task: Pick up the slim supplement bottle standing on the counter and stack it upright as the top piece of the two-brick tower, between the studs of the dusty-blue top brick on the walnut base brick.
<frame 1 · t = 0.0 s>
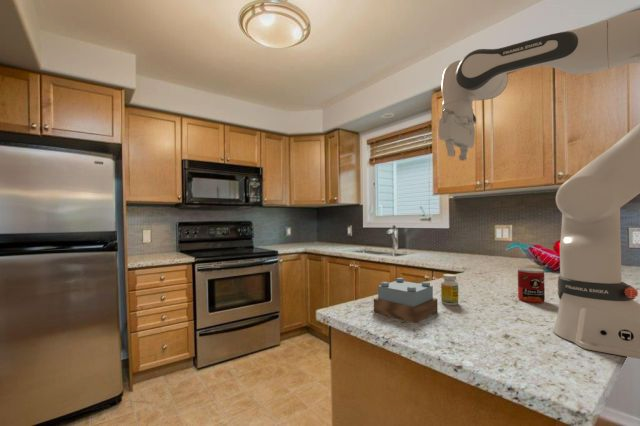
hand: (457, 158, 95), 48 cm above the countertop, tool pointing down, fingers open, 8 cm apart
top brick: (405, 298, 93), resting on base brick
supplement bottle: (449, 303, 102), on the countertop
canned food: (531, 301, 105), on the countertop
base brick: (405, 311, 93), on the countertop
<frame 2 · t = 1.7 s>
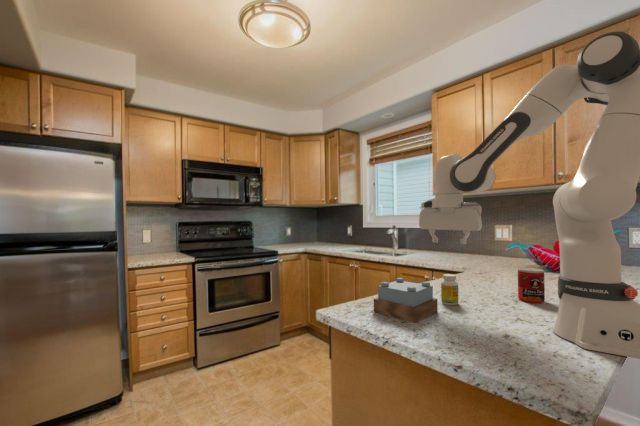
hand: (448, 243, 103), 20 cm above the countertop, tool pointing down, fingers open, 8 cm apart
nothing on the countertop moved.
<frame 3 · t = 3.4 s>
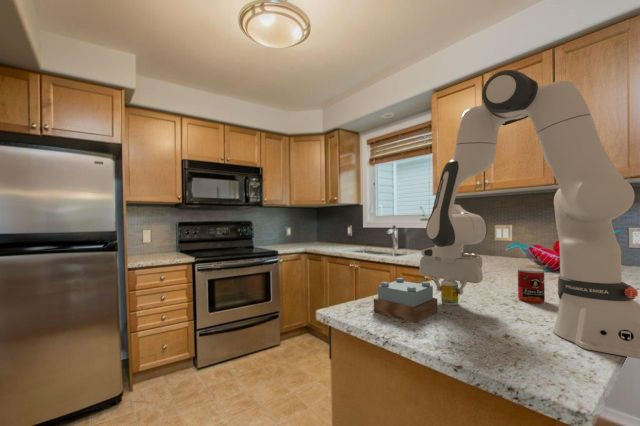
hand: (449, 292, 102), 4 cm above the countertop, tool pointing down, fingers closed on supplement bottle, 5 cm apart
supplement bottle: (449, 303, 102), on the countertop, touching gripper
everything else where it was.
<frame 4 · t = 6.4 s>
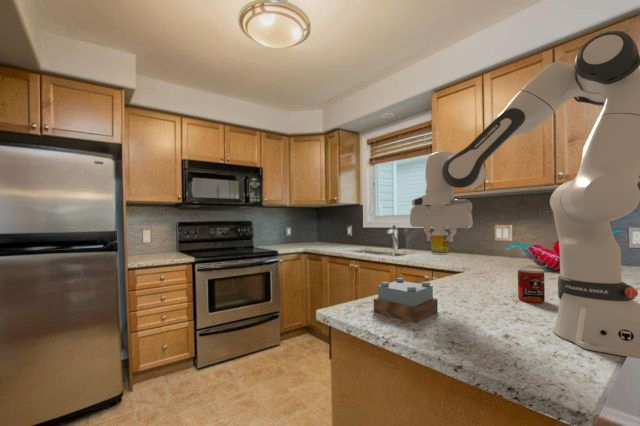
hand: (439, 241, 101), 21 cm above the countertop, tool pointing down, fingers closed on supplement bottle, 5 cm apart
supplement bottle: (439, 254, 100), point 17 cm above the countertop, touching gripper
everything else where it was.
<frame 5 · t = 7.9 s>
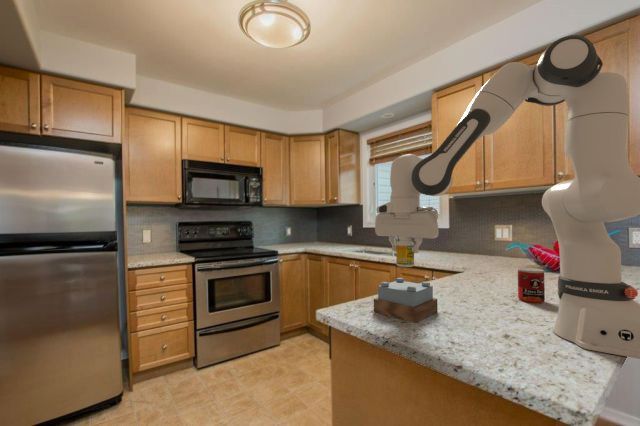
hand: (405, 251, 93), 19 cm above the countertop, tool pointing down, fingers closed on supplement bottle, 5 cm apart
supplement bottle: (405, 266, 93), point 14 cm above the countertop, touching gripper
everything else where it was.
when the fingers open (14 cm above the countertop, at t = 9.2 s): supplement bottle drops 1 cm, resting on top brick.
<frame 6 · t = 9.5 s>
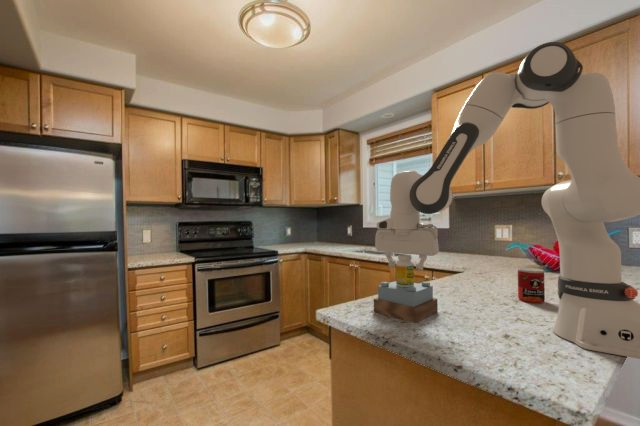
hand: (405, 267, 93), 14 cm above the countertop, tool pointing down, fingers open, 8 cm apart
supplement bottle: (405, 286, 93), point 8 cm above the countertop, touching top brick
everything else where it was.
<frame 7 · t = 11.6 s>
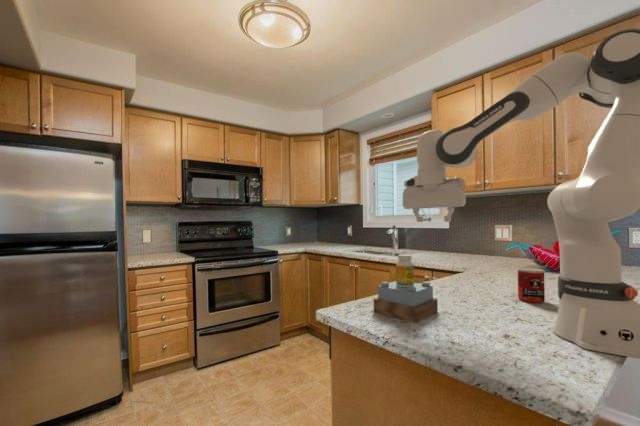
hand: (433, 221, 99), 28 cm above the countertop, tool pointing down, fingers open, 8 cm apart
nothing on the countertop moved.
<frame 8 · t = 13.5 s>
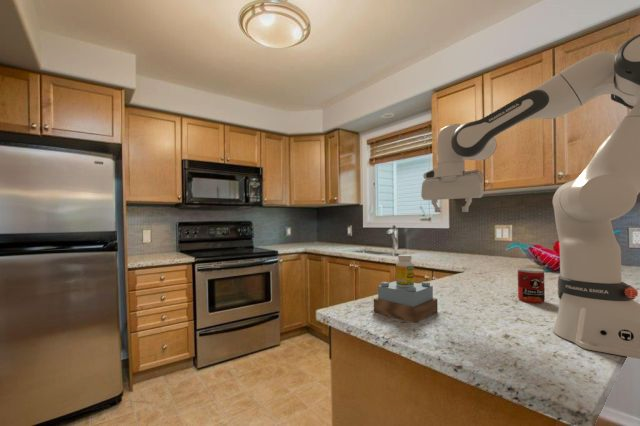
hand: (451, 212, 104), 31 cm above the countertop, tool pointing down, fingers open, 8 cm apart
nothing on the countertop moved.
at the end: supplement bottle 0.1 cm off-centre on the top brick, point 3.8 cm above the top brick's base; supplement bottle tilted 0°; the gripper is holding nothing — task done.
